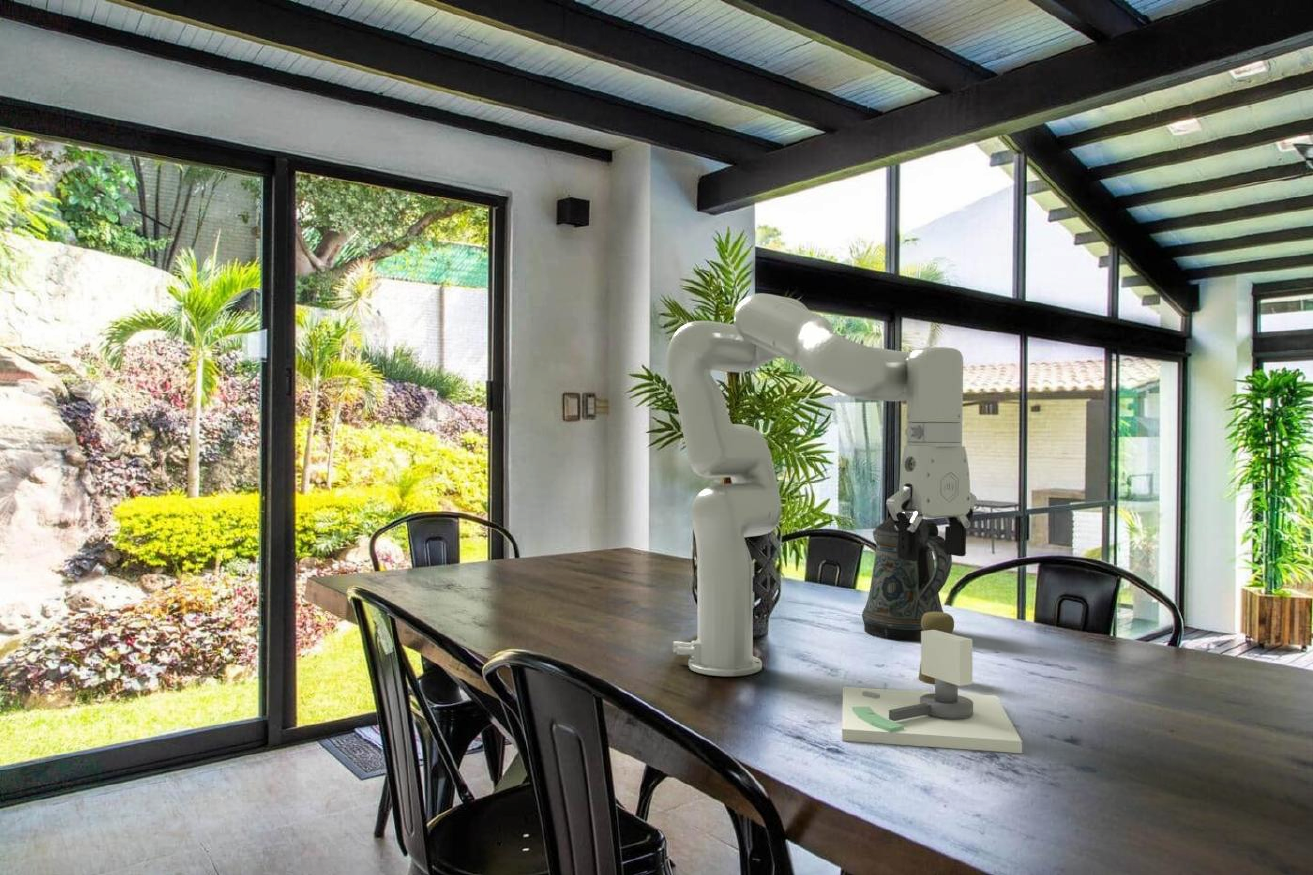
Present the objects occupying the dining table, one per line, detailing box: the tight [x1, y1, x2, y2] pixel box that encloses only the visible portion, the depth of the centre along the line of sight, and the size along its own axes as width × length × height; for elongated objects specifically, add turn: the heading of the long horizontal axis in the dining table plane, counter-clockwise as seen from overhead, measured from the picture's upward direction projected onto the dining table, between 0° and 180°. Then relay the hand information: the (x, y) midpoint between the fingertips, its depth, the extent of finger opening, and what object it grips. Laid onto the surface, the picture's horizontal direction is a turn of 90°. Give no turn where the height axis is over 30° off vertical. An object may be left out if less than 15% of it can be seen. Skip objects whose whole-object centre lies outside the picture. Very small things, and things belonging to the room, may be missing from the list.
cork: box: [918, 611, 955, 685], centre depth 143 cm, size 6×6×11 cm
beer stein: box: [861, 516, 953, 642], centre depth 178 cm, size 16×19×25 cm
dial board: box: [841, 686, 1023, 754], centre depth 121 cm, size 22×20×2 cm
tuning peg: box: [889, 630, 973, 721], centre depth 119 cm, size 14×7×10 cm, turn 118°
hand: (932, 557), depth 123 cm, fingers open, 9 cm apart
